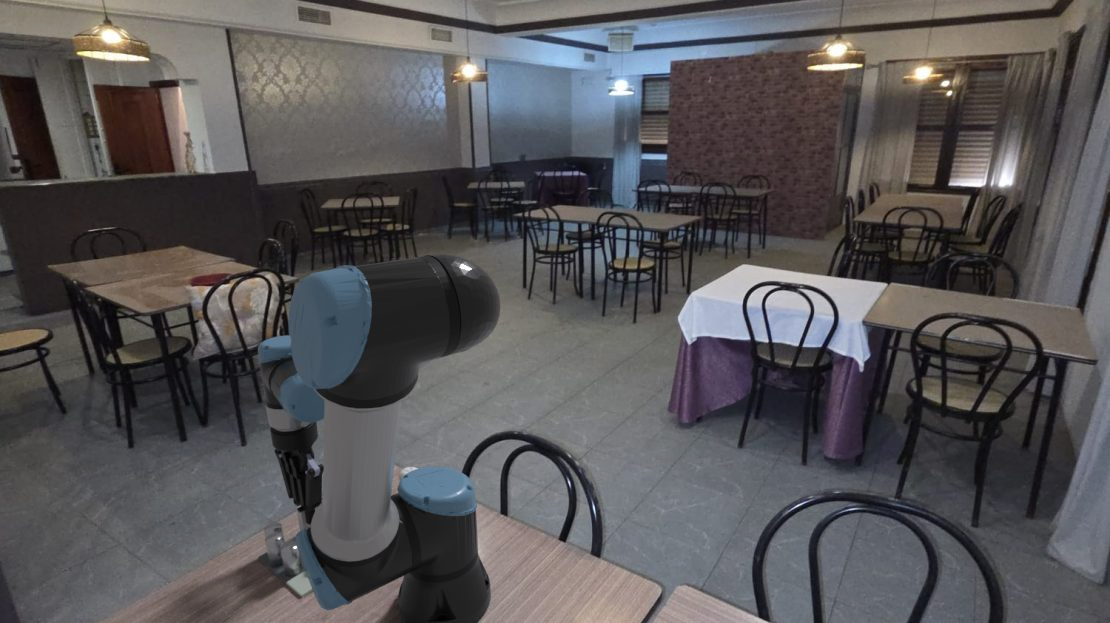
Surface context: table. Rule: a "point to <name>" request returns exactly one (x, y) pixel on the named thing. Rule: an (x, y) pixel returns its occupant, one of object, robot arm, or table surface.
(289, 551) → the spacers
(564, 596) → the table surface
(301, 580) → the mat
